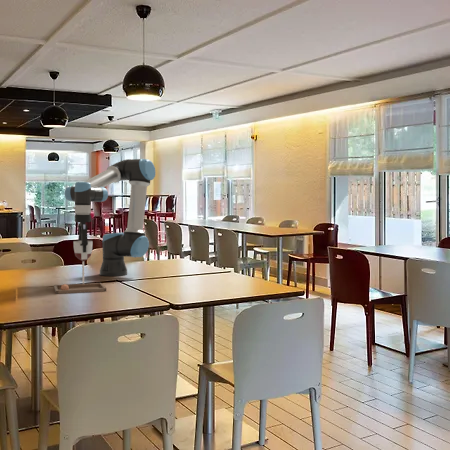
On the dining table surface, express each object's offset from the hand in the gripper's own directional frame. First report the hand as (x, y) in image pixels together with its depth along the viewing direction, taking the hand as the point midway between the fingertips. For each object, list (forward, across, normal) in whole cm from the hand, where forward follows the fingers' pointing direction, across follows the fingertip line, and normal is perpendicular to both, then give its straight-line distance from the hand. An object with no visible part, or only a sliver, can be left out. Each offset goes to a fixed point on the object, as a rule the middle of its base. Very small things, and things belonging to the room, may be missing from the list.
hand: (82, 257), depth 278 cm
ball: (+13, +18, -10) cm, 24 cm away
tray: (+14, +14, -3) cm, 20 cm away
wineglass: (+14, 0, 0) cm, 14 cm away
